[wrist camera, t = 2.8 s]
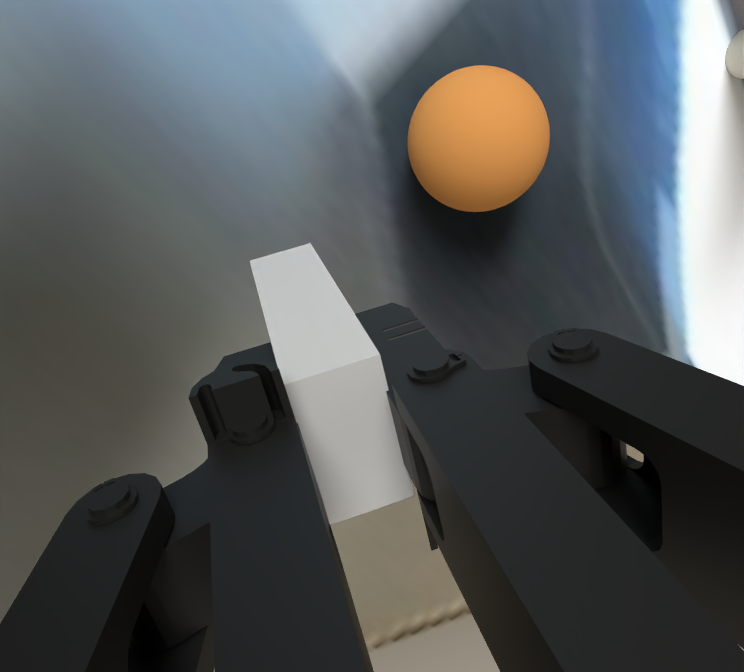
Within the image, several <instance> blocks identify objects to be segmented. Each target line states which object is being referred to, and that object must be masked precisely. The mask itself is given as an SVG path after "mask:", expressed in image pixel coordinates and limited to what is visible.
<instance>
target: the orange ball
mask: <svg viewBox="0 0 744 672" xmlns="http://www.w3.org/2000/svg"><path fill="white" fill-rule="evenodd" d="M549 140H550V130H549V123H548V117H547V114H546V110H545V108H544V106H543V103H542V101H541V100H540V98H539V96H538V95H537V93H536V92H535V91H534V90H533V88H532V87H531V86H530V85H529V84H528V83H527V82H526V81H525V80H523V79H522V78H520V77H519V76H517V75H516V74H514V73H512V72H510V71H508V70H506V69H502V68H498V67H494V66H486V65H481V66H471V67H466V68H462V69H459V70H456V71H453V72H452V73H450V74H448V75H446V76H444V77H443V78H441V79H440V80H438V81H437V82H436V83H435V84H434V85H432V86H431V87H430V88H429V89H428V91H427V92H426V93H425V94H424V95H423V97H422V98H421V100H420V101H419V103H418V105H417V107H416V109H415V111H414V113H413V116H412V118H411V122H410V126H409V131H408V153H409V159H410V163H411V166H412V168H413V171H414V173H415V175H416V177H417V179H418V180H419V182H420V184H421V185H422V186H423V188H424V189H425V190H426V191H427V192H428V193H429V194H430V195H431V196H432V197H434V198H435V199H436V200H438V201H439V202H441V203H443V204H444V205H446V206H449V207H451V208H454V209H457V210H461V211H466V212H484V211H489V210H494V209H497V208H500V207H502V206H505V205H507V204H509V203H511V202H512V201H514V200H515V199H517V198H518V197H520V196H521V195H522V194H523V193H524V192H525V191H526V190H527V189H528V188H529V187H530V186H531V185H532V184H533V183H534V181H535V180H536V178H537V177H538V175H539V173H540V172H541V170H542V168H543V165H544V163H545V160H546V157H547V154H548V149H549Z"/></svg>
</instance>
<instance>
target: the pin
mask: <svg viewBox="0 0 744 672" xmlns="http://www.w3.org/2000/svg"><path fill="white" fill-rule="evenodd" d="M726 66H727V69H728V71H729V73H730V74H731V75H732V76H733V77H735V78H739V79H744V29H742V30H741V31H739V32H738V33H737V34H736V35H735V36H734V37H733V39H732V40H731V42H730V44H729V46H728V48H727V52H726Z"/></svg>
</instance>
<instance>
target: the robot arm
mask: <svg viewBox="0 0 744 672" xmlns="http://www.w3.org/2000/svg"><path fill="white" fill-rule="evenodd" d="M250 264H251V268H252V272H253V276H254V279H255V283H256V287H257V291H258V295H259V298H260V302H261V306H262V310H263V314H264V317H265V321H266V325H267V329H268V333H269V336H270V340H271V342H270V343H266V344H263V345H260V346H257V347H253V348H250V349H247V350H244V351H241V352H237V353H234V354H231V355H228V356H224V357H223V359H222V360H221V362H220V363H219V365H218V366H217V368H216V369H215V371H214V372H212V373H210V374H209V375H207V376H205V377H204V378H202V379H201V380H200V381H199V382H198V383H197V384H196V385H195V386H194V387H193V388H192V390H191V392H190V395H189V397H188V398H189V400H190V403H191V405H192V408H193V410H194V413H195V415H196V417H197V420H198V422H199V425H200V427H201V430H202V432H203V435H204V437H205V440H206V442H207V444H208V459H207V460H206V461H205V462H204V463H203V464H202V465H200V466H199V467H198V468H197V469H196V470H194V471H193V472H191V473H189V474H188V475H186V476H185V477H183V478H181V479H179V480H178V481H176V482H174V483H172V484H170V485H168V486H166V487H165V488H162V485H161V484H160V482H159V481H158V479H157V478H156V477H154V476H151V475H148V474H145V473H141V474H128V475H125V476H122V477H118V478H113V479H110V480H108V481H106V482H104V484H100V485H98V486H96V487H95V488H93V489H92V490H91V491H90V492H88V493H87V494H86V495H85V496H83V497H82V498H81V499H79V500H78V501H77V502H76V503H75V505H74V506H73V507H72V508H71V509H70V511H69V512H68V513H67V514H66V516H65V517H64V519H63V521H62V522H61V524H60V526H59V527H58V529H57V531H56V532H55V534H54V536H53V537H52V539H51V541H50V542H49V544H48V546H47V547H46V549H45V551H44V552H43V554H42V556H41V557H40V559H39V561H38V562H37V564H36V566H35V567H34V569H33V571H32V572H31V574H30V576H29V577H28V579H27V581H26V582H25V584H24V585H23V587H22V589H21V590H20V592H19V594H18V595H17V597H16V599H15V600H14V602H13V604H12V605H11V607H10V609H9V610H8V612H7V614H6V615H5V617H4V619H3V620H2V622H1V624H0V672H213V671H214V667H215V672H374V671H373V668H372V665H371V661H370V658H369V654H368V651H367V647H366V644H365V640H364V637H363V634H362V630H361V627H360V623H359V620H358V617H357V613H356V610H355V606H354V603H353V599H352V596H351V593H350V589H349V586H348V582H347V579H346V576H345V572H344V569H343V565H342V562H341V559H340V555H339V552H338V548H337V545H336V542H335V539H334V536H333V533H332V530H331V527H330V525H333V524H335V523H338V522H341V521H344V520H347V519H350V518H352V517H355V516H358V515H361V514H364V513H367V512H369V511H372V510H375V509H378V508H381V507H384V506H386V505H389V504H392V503H395V502H398V501H401V500H403V499H406V498H409V497H412V496H414V492H413V488H412V484H411V480H410V477H411V479H412V481H413V483H414V485H415V487H416V489H417V492H418V496H419V500H420V504H421V509H422V513H423V517H424V521H425V525H426V529H427V534H428V538H429V542H430V546H431V550H435V549H438V546H439V548H440V550H441V552H442V554H443V556H444V558H445V561H446V563H447V565H448V567H449V569H450V571H451V573H452V575H453V577H454V579H455V581H456V583H457V585H458V587H459V589H460V591H461V593H462V595H463V597H464V599H465V601H466V603H467V605H468V607H469V609H470V611H471V613H472V615H473V617H474V619H475V621H476V623H477V625H478V627H479V629H480V631H481V633H482V635H483V637H484V639H485V641H486V643H487V645H488V647H489V649H490V651H491V654H492V656H493V658H494V660H495V662H496V663H497V666H498V668H499V669H500V672H744V651H743V650H742V649H741V648H740V647H739V646H741V647H742V648H743V649H744V386H742V385H739V384H737V383H734V382H732V381H729V380H727V379H724V378H721V377H719V376H716V375H714V374H711V373H708V372H706V371H703V370H701V369H698V368H695V367H693V366H690V365H688V364H685V363H682V362H680V361H677V360H675V359H672V358H670V357H667V356H664V355H662V354H659V353H657V352H654V351H651V350H649V349H646V348H644V347H641V346H638V345H636V344H633V343H631V342H628V341H625V340H623V339H620V338H618V337H615V336H613V335H610V334H607V333H604V332H600V331H596V330H592V329H577V328H569V329H566V330H564V329H562V330H558V331H555V332H553V333H551V334H548V335H545V336H542V337H541V338H539V339H538V340H536V341H535V342H533V343H532V344H531V346H530V348H529V350H528V351H527V355H528V363H529V365H528V366H521V367H514V368H507V369H496V370H483V369H482V368H481V367H480V366H479V365H478V364H477V363H476V361H475V360H474V359H473V358H472V357H470V356H468V355H467V354H465V353H464V352H460V351H455V350H450V349H448V350H445V349H444V348H443V347H442V346H441V345H440V343H439V342H438V341H437V340H436V339H435V338H434V336H433V335H432V334H431V333H430V332H429V331H428V330H427V329H426V328H425V326H424V325H423V324H422V323H421V321H420V320H418V318H417V317H416V316H415V315H414V313H413V312H412V311H411V310H410V309H409V308H406V307H404V306H401V305H398V304H395V303H390V304H386V305H383V306H380V307H377V308H373V309H370V310H367V311H364V312H360V313H357V314H354V312H353V310H352V309H351V307H350V306H349V304H348V303H347V301H346V299H345V298H344V296H343V295H342V293H341V291H340V290H339V288H338V287H337V285H336V283H335V282H334V280H333V279H332V277H331V275H330V274H329V272H328V271H327V269H326V267H325V266H324V264H323V263H322V261H321V260H320V258H319V256H318V255H317V253H316V252H315V250H314V248H313V247H312V245H311V244H310V243H309V244H306V245H302V246H299V247H295V248H292V249H288V250H285V251H282V252H278V253H275V254H271V255H268V256H264V257H261V258H257V259H254V260H251V261H250ZM626 444H628V445H630V446H632V447H634V448H635V449H637V450H638V451H640V452H641V453H642V454H644V461H643V463H642V462H640V461H637V460H635V459H633V458H632V457H630V456H628V455H627V451H626ZM409 475H410V476H409ZM437 544H438V545H437Z"/></svg>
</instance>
